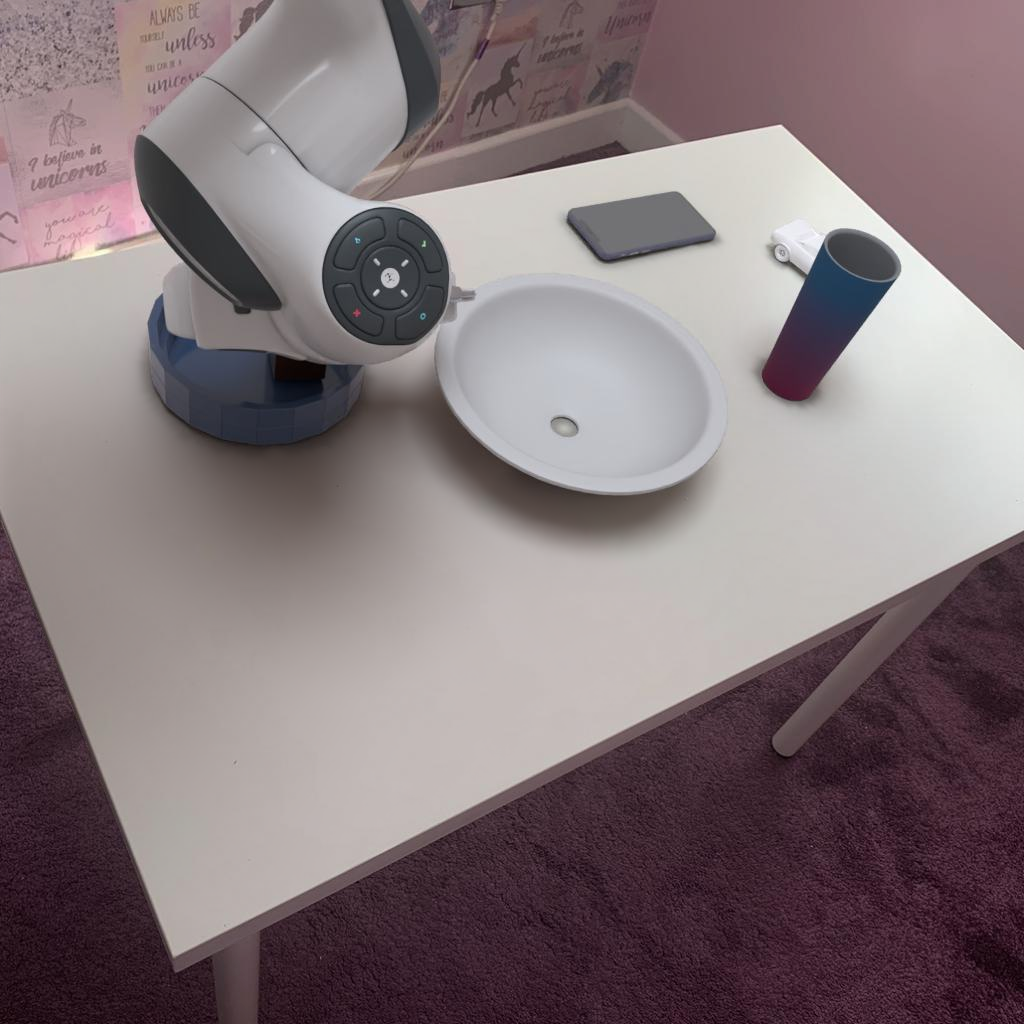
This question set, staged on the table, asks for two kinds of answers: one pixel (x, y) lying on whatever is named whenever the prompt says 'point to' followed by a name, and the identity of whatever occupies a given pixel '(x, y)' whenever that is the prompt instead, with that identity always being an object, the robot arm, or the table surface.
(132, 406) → the table surface
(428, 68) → the robot arm
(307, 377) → the block
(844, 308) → the cup
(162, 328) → the bowl
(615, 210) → the smartphone
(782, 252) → the toy car
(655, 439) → the white sink basin
